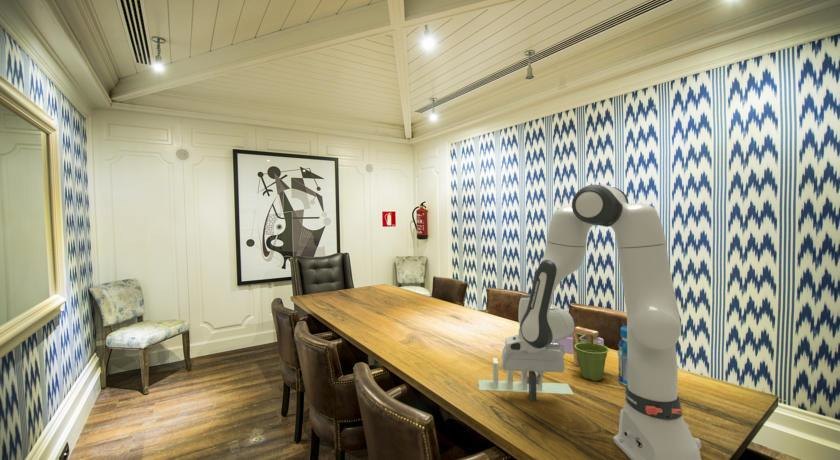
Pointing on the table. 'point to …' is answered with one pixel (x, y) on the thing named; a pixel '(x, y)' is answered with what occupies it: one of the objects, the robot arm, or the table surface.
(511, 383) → the domino
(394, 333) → the table surface
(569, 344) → the clip
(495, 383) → the domino
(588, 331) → the candy box
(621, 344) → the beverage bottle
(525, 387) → the domino
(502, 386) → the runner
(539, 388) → the domino
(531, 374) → the black domino
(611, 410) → the table surface
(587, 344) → the plant pot
